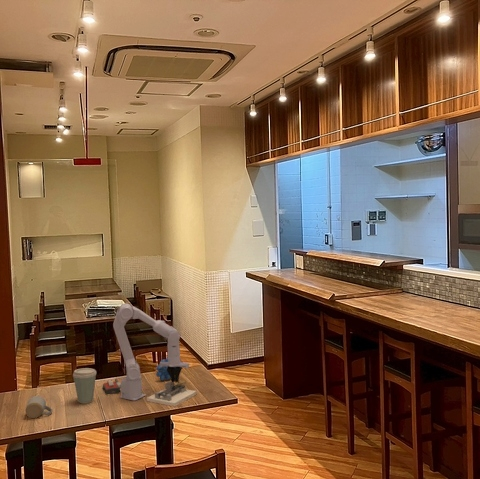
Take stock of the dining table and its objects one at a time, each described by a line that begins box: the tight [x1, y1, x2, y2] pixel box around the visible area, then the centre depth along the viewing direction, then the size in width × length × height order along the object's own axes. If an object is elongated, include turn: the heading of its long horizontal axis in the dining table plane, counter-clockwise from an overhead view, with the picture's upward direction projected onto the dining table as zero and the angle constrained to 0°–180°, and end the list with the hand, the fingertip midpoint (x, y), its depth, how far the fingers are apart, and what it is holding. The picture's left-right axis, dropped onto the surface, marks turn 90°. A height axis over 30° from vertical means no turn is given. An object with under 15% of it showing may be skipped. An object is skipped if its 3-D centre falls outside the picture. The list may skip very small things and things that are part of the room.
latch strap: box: [159, 384, 186, 397], centre depth 240 cm, size 15×4×1 cm, turn 150°
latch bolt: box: [174, 380, 187, 386], centre depth 244 cm, size 4×3×1 cm
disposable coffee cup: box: [72, 367, 97, 405], centre depth 239 cm, size 11×11×15 cm
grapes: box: [155, 356, 176, 381], centre depth 266 cm, size 12×7×12 cm, turn 114°
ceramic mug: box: [25, 395, 53, 419], centre depth 224 cm, size 11×8×8 cm
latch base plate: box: [146, 381, 198, 407], centre depth 240 cm, size 16×17×4 cm
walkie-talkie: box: [102, 378, 122, 395], centre depth 256 cm, size 9×4×20 cm
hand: (175, 381), depth 247 cm, fingers closed
